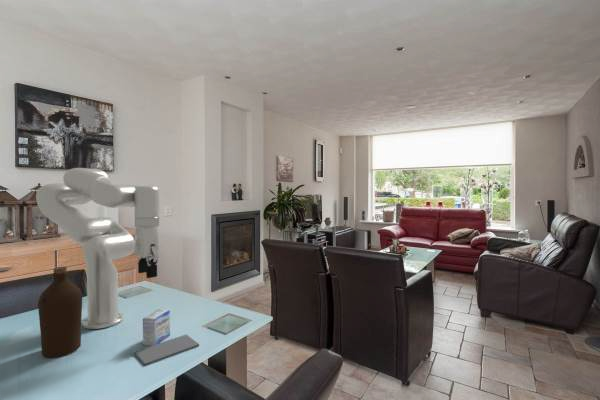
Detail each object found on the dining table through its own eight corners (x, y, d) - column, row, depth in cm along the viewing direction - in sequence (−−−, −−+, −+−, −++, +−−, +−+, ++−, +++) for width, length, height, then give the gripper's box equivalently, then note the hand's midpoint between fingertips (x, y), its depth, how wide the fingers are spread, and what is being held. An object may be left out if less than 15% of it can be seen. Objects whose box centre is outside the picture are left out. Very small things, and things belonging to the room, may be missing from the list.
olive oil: (75, 356, 93) (73, 271, 92) (31, 361, 90) (29, 273, 89) (88, 339, 103) (86, 262, 102) (49, 343, 100) (47, 264, 99)
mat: (134, 353, 95) (134, 351, 95) (186, 336, 106) (186, 334, 106) (144, 365, 88) (144, 363, 88) (199, 346, 99) (199, 344, 99)
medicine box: (155, 346, 99) (154, 319, 98) (142, 345, 100) (142, 317, 99) (170, 335, 106) (170, 309, 106) (158, 333, 107) (158, 308, 107)
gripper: (126, 221, 111) (127, 271, 112) (144, 226, 98) (144, 282, 99) (149, 219, 116) (149, 268, 117) (168, 224, 104) (169, 278, 104)
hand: (147, 274), depth 108 cm, fingers open, 7 cm apart
